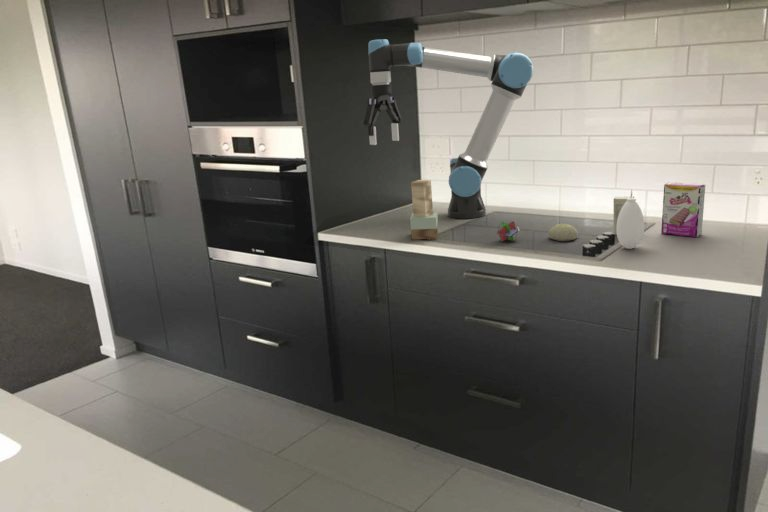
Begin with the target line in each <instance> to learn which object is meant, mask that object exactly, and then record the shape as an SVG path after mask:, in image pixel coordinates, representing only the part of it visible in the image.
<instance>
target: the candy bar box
mask: <svg viewBox="0 0 768 512" xmlns="http://www.w3.org/2000/svg"><path fill="white" fill-rule="evenodd" d="M705 194H706V184H704V183H703V184H702V183H690V182H689V183H686V182H674V181H669V182H667V183H664V185H663V200H662V218H661V231H660V232H661V234H663V235H672V236H681V237H689V238H698V237H700V236H702V232H703V219H704V210H705V209H704V208H705V207H704V205H705Z"/></svg>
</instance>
